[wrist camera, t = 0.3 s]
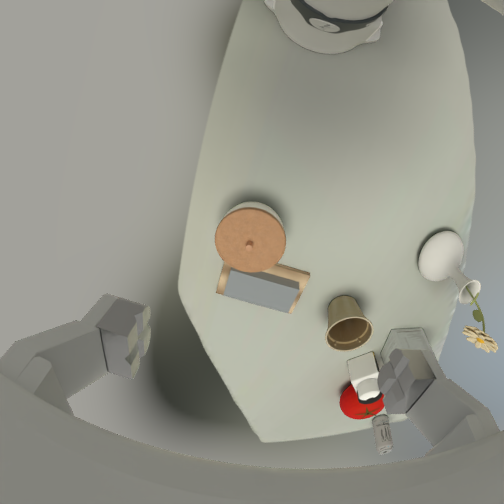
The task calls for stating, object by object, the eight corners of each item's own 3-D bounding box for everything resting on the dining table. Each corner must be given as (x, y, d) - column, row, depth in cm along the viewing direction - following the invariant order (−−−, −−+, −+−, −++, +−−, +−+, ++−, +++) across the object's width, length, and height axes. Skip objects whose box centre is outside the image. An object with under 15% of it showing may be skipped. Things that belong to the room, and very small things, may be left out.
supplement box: (379, 353, 63) (393, 408, 49) (390, 328, 59) (410, 385, 44) (410, 351, 62) (427, 402, 48) (423, 327, 58) (446, 379, 43)
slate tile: (232, 262, 52) (230, 270, 50) (298, 282, 53) (299, 289, 51) (225, 287, 55) (223, 295, 53) (287, 305, 56) (288, 313, 54)
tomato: (347, 401, 75) (351, 429, 66) (330, 385, 71) (333, 416, 62) (389, 384, 70) (396, 412, 61) (376, 365, 66) (384, 396, 57)
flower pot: (344, 280, 53) (352, 308, 46) (372, 303, 55) (382, 331, 48) (311, 308, 57) (314, 338, 50) (340, 328, 59) (346, 357, 52)
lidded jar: (247, 259, 53) (242, 289, 45) (211, 215, 49) (197, 239, 41) (296, 230, 49) (300, 257, 41) (261, 180, 45) (256, 198, 37)
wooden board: (228, 248, 52) (227, 251, 51) (309, 272, 53) (310, 275, 52) (216, 289, 57) (215, 292, 56) (291, 310, 58) (291, 313, 57)
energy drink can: (389, 412, 79) (396, 447, 66) (384, 420, 82) (390, 453, 69) (374, 415, 80) (380, 450, 67) (369, 422, 83) (374, 456, 70)
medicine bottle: (377, 364, 65) (386, 401, 55) (353, 373, 68) (359, 410, 57) (372, 350, 63) (382, 388, 52) (346, 360, 65) (353, 398, 54)
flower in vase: (411, 238, 47) (475, 328, 26) (457, 219, 44) (532, 294, 22) (418, 288, 53) (465, 378, 31) (460, 270, 49) (516, 349, 28)
